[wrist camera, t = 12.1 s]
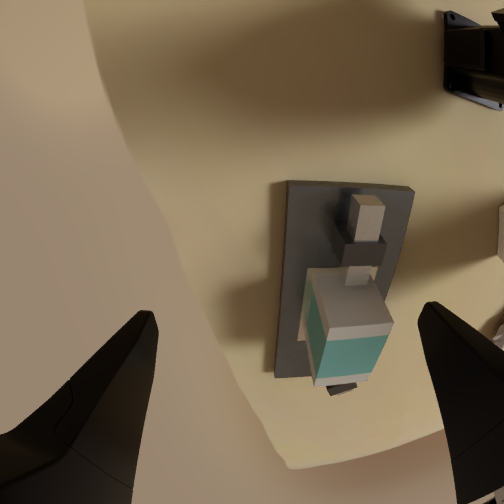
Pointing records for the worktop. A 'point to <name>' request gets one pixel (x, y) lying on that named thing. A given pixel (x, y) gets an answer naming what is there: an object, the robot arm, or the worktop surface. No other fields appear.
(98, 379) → the robot arm
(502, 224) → the milk
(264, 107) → the worktop surface
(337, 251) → the shaft stand
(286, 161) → the worktop surface
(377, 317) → the block
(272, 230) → the worktop surface
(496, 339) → the charger
